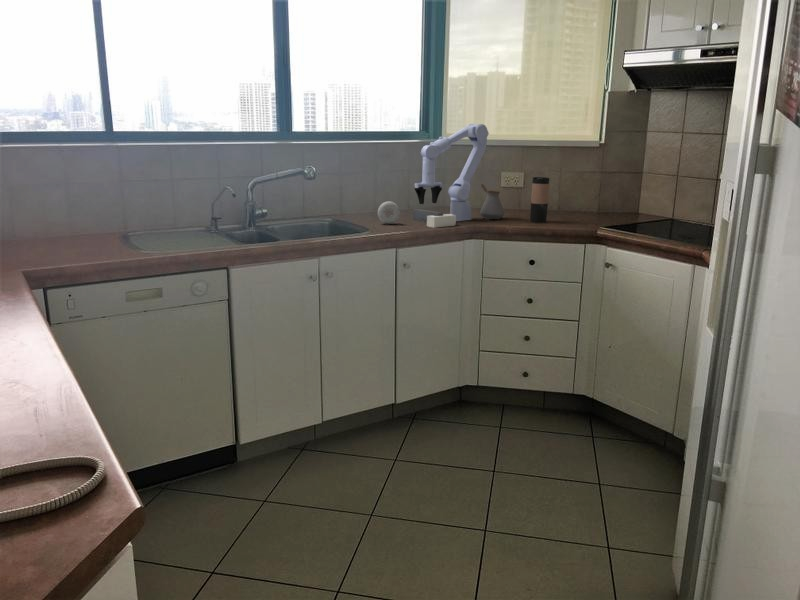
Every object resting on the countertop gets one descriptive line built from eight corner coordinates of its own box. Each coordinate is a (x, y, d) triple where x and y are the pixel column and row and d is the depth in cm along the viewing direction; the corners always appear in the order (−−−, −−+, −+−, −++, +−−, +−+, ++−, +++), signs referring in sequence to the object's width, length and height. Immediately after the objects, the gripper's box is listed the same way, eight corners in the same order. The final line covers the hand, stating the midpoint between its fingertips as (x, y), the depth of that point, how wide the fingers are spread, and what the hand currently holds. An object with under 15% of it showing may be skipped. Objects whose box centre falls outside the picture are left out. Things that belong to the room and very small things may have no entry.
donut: (398, 223, 295) (399, 200, 293) (400, 224, 292) (401, 201, 290) (376, 223, 293) (376, 201, 290) (378, 225, 290) (378, 201, 287)
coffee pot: (508, 220, 311) (509, 187, 307) (484, 220, 308) (486, 187, 304) (490, 214, 331) (492, 183, 327) (469, 214, 328) (470, 183, 324)
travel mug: (545, 221, 309) (548, 177, 304) (547, 223, 302) (550, 178, 297) (528, 220, 310) (531, 176, 305) (530, 222, 303) (533, 178, 298)
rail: (418, 219, 309) (419, 208, 308) (442, 223, 298) (442, 212, 296) (413, 220, 307) (413, 209, 306) (436, 224, 295) (437, 213, 294)
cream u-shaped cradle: (448, 224, 295) (448, 213, 294) (455, 225, 292) (455, 215, 291) (426, 226, 288) (427, 215, 286) (434, 227, 284) (434, 217, 283)
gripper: (434, 171, 304) (434, 201, 308) (410, 172, 295) (409, 203, 299) (445, 172, 299) (444, 203, 302) (420, 173, 290) (420, 205, 294)
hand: (427, 203), depth 300 cm, fingers open, 7 cm apart
